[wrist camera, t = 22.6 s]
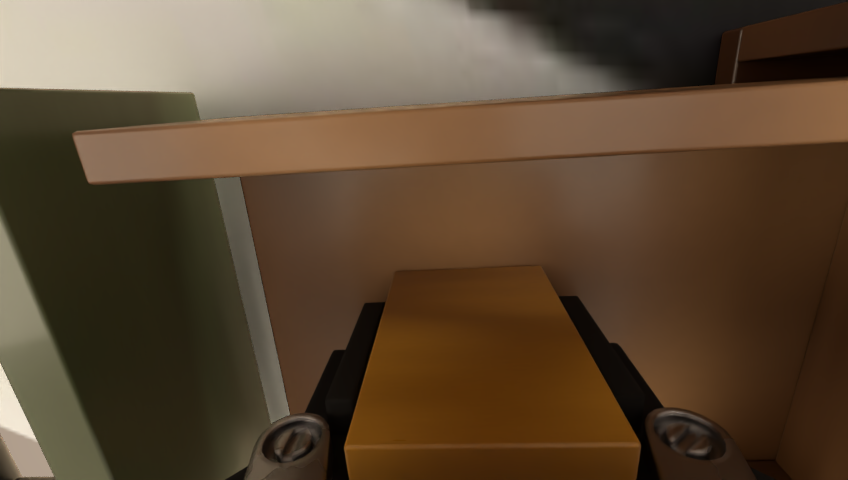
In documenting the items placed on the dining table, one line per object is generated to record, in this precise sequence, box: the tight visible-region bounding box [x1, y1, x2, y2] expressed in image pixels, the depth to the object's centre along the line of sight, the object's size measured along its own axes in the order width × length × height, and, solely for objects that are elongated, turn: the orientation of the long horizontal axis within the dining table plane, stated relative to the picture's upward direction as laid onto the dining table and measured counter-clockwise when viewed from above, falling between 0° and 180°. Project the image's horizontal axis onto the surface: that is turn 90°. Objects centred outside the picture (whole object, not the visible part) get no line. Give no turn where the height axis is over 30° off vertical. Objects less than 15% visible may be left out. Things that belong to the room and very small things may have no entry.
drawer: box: [0, 76, 848, 480], centre depth 10 cm, size 24×13×6 cm, turn 94°
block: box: [344, 266, 641, 480], centre depth 9 cm, size 4×4×6 cm
